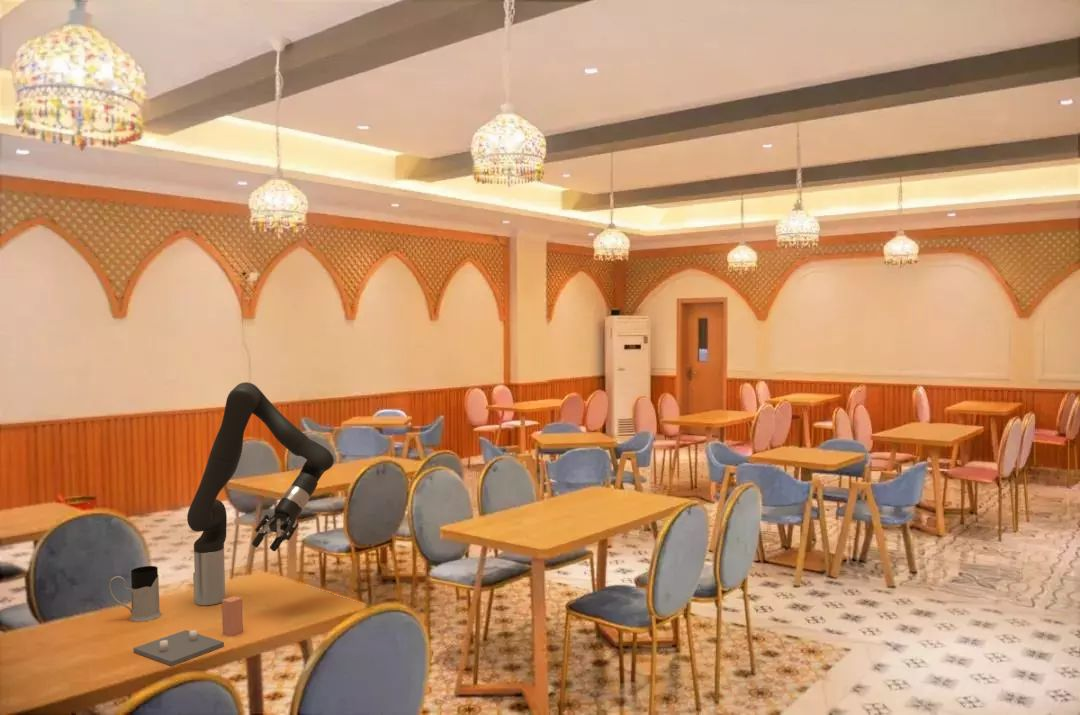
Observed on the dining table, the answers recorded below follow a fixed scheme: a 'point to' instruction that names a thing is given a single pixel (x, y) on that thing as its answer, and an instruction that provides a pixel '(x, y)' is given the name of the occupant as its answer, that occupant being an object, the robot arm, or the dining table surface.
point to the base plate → (178, 647)
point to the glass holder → (143, 593)
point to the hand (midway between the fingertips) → (263, 548)
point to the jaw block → (232, 616)
